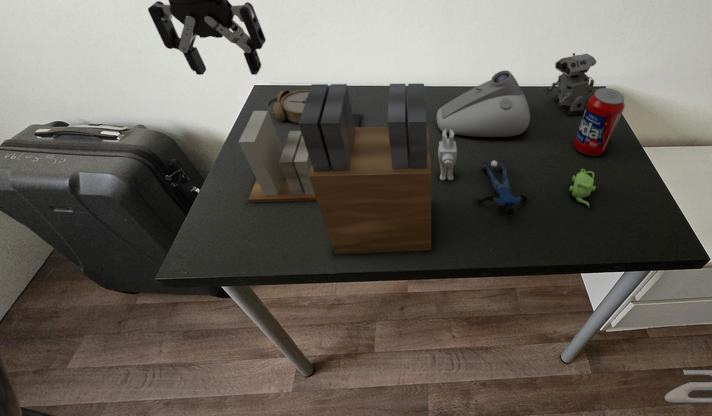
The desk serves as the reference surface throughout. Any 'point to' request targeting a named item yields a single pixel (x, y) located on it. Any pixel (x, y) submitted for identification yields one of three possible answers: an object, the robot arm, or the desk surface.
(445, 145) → the toy robot
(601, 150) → the soda can
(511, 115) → the projector
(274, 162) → the gray rectangular block
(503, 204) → the person figurine
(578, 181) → the green kettle
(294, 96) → the alarm clock
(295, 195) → the wooden display stand
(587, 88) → the figurine
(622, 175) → the desk surface
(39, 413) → the robot arm
